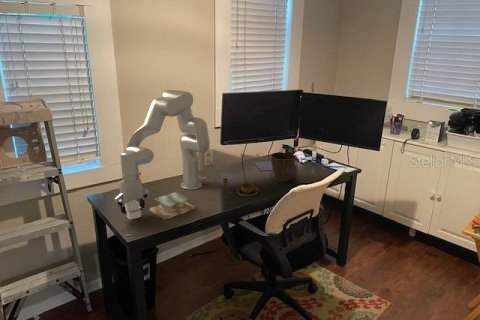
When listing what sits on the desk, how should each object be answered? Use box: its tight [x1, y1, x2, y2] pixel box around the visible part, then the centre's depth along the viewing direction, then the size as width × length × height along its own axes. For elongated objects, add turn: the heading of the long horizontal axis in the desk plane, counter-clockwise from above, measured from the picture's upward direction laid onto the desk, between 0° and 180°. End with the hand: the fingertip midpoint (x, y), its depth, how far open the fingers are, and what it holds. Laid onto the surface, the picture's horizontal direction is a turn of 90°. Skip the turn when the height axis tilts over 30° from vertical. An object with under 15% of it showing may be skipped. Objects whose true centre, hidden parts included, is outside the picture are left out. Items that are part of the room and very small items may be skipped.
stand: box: [149, 191, 196, 221], centre depth 183 cm, size 18×14×6 cm
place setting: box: [222, 177, 262, 198], centre depth 208 cm, size 18×20×6 cm
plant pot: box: [270, 151, 296, 183], centre depth 222 cm, size 15×15×16 cm
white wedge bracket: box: [126, 200, 142, 220], centre depth 175 cm, size 4×10×9 cm, turn 126°
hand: (133, 210), depth 175 cm, fingers open, 9 cm apart
